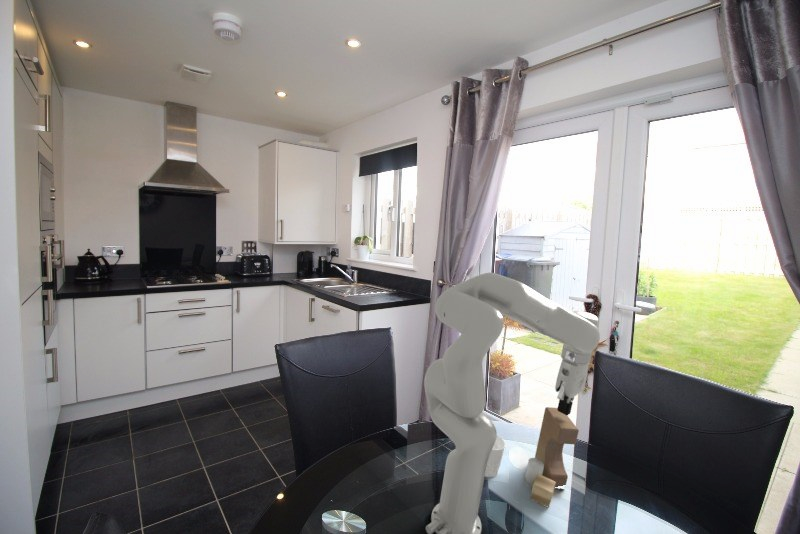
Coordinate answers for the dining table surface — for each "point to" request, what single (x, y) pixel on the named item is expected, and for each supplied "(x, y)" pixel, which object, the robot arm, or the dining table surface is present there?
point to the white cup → (495, 458)
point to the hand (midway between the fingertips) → (563, 412)
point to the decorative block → (555, 444)
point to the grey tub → (533, 470)
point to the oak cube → (543, 490)
